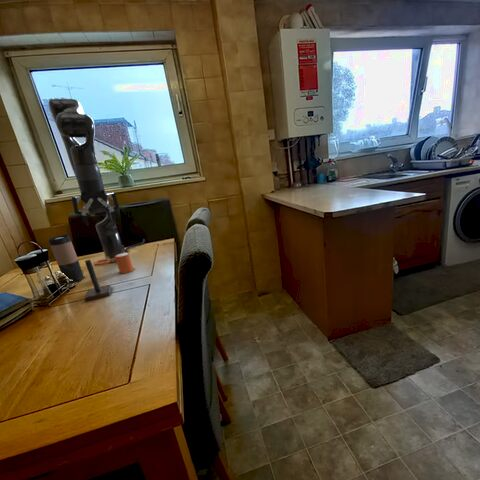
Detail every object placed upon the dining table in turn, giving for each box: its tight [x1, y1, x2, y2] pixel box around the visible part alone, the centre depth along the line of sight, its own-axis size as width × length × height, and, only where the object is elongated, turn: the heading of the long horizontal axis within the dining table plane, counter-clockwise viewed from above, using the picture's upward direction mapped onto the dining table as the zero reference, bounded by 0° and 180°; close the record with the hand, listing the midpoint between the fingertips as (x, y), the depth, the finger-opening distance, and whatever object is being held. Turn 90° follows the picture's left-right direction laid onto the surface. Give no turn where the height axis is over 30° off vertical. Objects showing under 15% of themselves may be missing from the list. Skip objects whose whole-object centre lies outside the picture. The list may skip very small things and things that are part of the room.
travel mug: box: [48, 234, 85, 284], centre depth 122 cm, size 8×8×20 cm
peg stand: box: [84, 259, 113, 302], centre depth 105 cm, size 8×8×14 cm
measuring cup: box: [93, 252, 134, 274], centre depth 126 cm, size 14×6×8 cm, turn 127°
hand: (100, 222), depth 104 cm, fingers open, 8 cm apart
